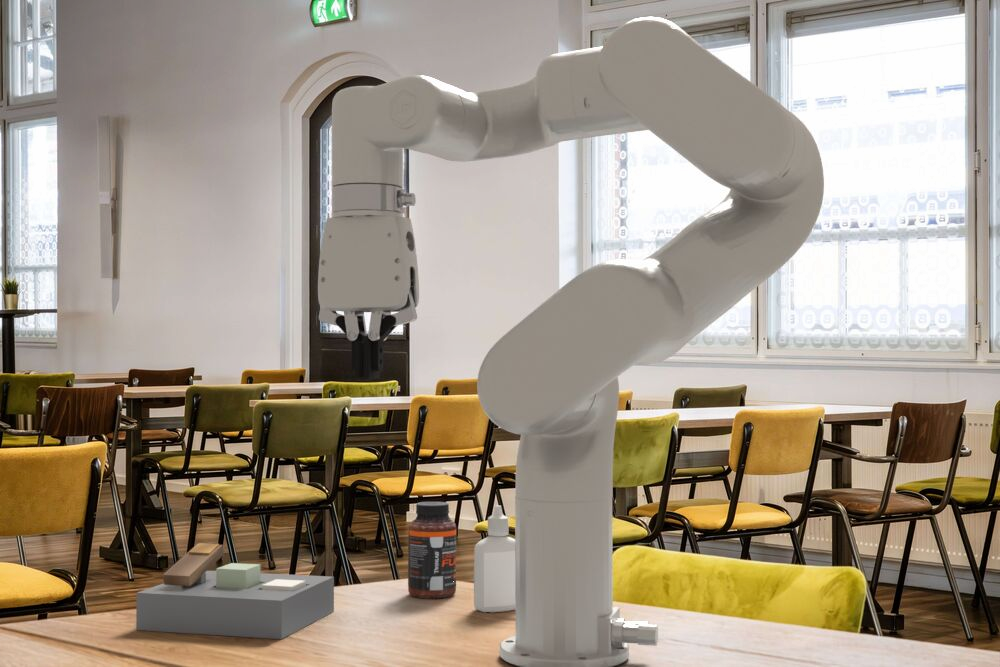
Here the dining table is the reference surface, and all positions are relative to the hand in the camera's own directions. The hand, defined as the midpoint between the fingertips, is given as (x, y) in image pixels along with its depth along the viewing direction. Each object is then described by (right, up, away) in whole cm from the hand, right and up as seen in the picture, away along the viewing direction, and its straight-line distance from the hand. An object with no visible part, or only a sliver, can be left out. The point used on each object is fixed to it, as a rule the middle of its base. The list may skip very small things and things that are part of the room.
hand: (367, 378), depth 129 cm
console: (-15, -27, +7) cm, 32 cm away
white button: (-10, -26, +5) cm, 28 cm away
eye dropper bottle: (+14, -28, +12) cm, 33 cm away
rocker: (-20, -21, +8) cm, 31 cm away
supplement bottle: (+6, -28, +21) cm, 35 cm away
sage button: (-15, -24, +7) cm, 30 cm away
